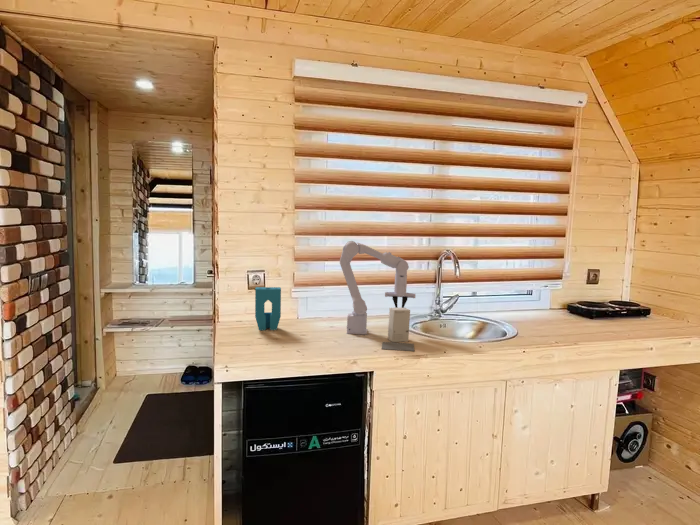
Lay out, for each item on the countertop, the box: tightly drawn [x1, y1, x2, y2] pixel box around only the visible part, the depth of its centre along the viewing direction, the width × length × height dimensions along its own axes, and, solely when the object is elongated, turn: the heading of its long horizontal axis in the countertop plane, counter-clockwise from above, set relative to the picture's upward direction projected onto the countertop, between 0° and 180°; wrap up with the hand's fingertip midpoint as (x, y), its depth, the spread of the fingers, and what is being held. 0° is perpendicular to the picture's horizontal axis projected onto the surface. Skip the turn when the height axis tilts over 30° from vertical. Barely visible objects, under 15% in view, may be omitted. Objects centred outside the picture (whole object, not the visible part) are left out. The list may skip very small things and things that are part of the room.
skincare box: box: [387, 307, 411, 343], centre depth 210 cm, size 8×6×15 cm
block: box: [254, 286, 282, 331], centre depth 222 cm, size 12×5×20 cm, turn 100°
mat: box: [381, 341, 415, 352], centre depth 201 cm, size 14×10×1 cm
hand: (399, 311), depth 222 cm, fingers closed
